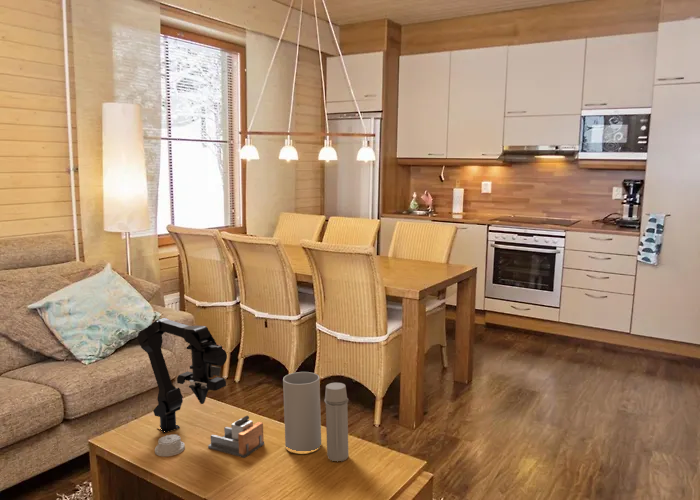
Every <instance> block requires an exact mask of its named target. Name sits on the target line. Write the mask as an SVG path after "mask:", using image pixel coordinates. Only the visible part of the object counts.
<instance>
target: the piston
mask: <svg viewBox="0 0 700 500" xmlns="http://www.w3.org/2000/svg"><path fill="white" fill-rule="evenodd" d="M249 419H250V416H249V415H245V416H243V417H242V418H240V419H238V420H236V421H234V422H233V423H231V425H230V428H232V440H236V441H239V440H238V434H239V433H241V432H242V431H244V430H246V429H247V428H249V427H250V426H252V425H254V423H253V422H254V421H253V420H249Z"/></svg>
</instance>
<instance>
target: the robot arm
mask: <svg viewBox="0 0 700 500" xmlns="http://www.w3.org/2000/svg"><path fill="white" fill-rule="evenodd" d="M165 333H167V334H170V335H173V336H176V337H180V338H182V339H183V340H184V341H185V342H186V343H187V344H189V345H188V346H186V349H187V350H190V352H191V365H189V369H190V370H192V371H185V372H183V373H181V374H178V375H177V377H176V383H177V384H180V385H184V384H185V383H186V381H188V382H189V385H188V388H189V389H191V391H192V393H193V394H194V395H195V397H196V398H197V400H198V403H200V405H204V404H205V402H206V399H207V396H208V392H209V391H214V392H215V391H218V390H220V389H223V388H224V387H226V386H227V380H226V379H225V378H223V377H220V375H221V371H222V370H221V369H222V368H221V367H222V366H224V365H225V364H226V362H227V359H228V354H227V351H226V350H225V349H223V346H222V345H217V342H216V340H215V339H214V336H213V335H212V334H211V332H210V330H209V328H208V326H206V325H188V324H184V323H180V322H177V321H174V320H171V319H168V318H167V317H163V318H159V319H156V320H154V321H153V322H152V323H151V324H149V325H148V326H147V327H145V328H144V329H142V330H139V332H138V334H137V336H136V338H137V342H138V344H139V346H140V348H141V349H142V350H143V351H144V352H146V354H147V355H148V359H149V362H150V365H151V368H152V372H153V374H154V377H155V381H156V384H157V387H158V394H157V406H156V407H155V408H153V410H152V411H153V414H154V416H155V417H158V418H159V423H160V424H159V426H160V427H161V429H162V430H161V429H160V430H161V431H162V432H161V431H160V430H159V431H160V432H161V433H163V434H166V433H169V432H172V431H171V430H173V431H175V430H174V429H176V430H178V429H177V428H179V429H180V428H181V426H180V425H178V424H177V417H176V416H177V415H176V412H178V411H180V410H181V408H182V405H183V398H184V397H183V395H182V392H181V389H180V387H175V386H174V385H173V382H172V380H171V379H172V378H171V376H170V373H169V370H168V367H167V364H166V360H165V357H164V354H163V351H162V346H163V341H164V340H163V335H164V334H165ZM214 376H217V377H214ZM213 377H214V378H213ZM176 424H177V425H176ZM164 431H165V432H166V433H165V432H164ZM168 431H169V432H168Z"/></svg>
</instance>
